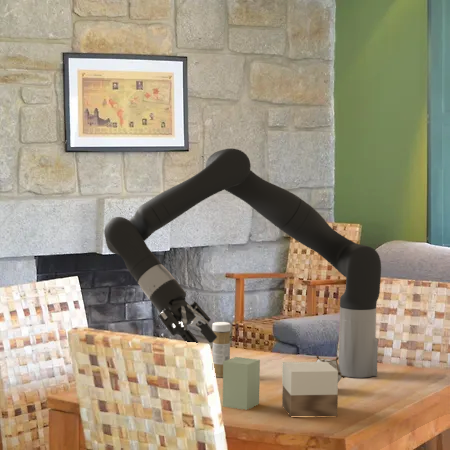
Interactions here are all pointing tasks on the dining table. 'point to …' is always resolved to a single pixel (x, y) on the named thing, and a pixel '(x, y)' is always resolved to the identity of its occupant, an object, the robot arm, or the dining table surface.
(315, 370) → the tower top
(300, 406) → the tower bottom
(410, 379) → the dining table surface
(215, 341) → the sprinkles bottle
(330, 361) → the game die
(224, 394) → the sage block
